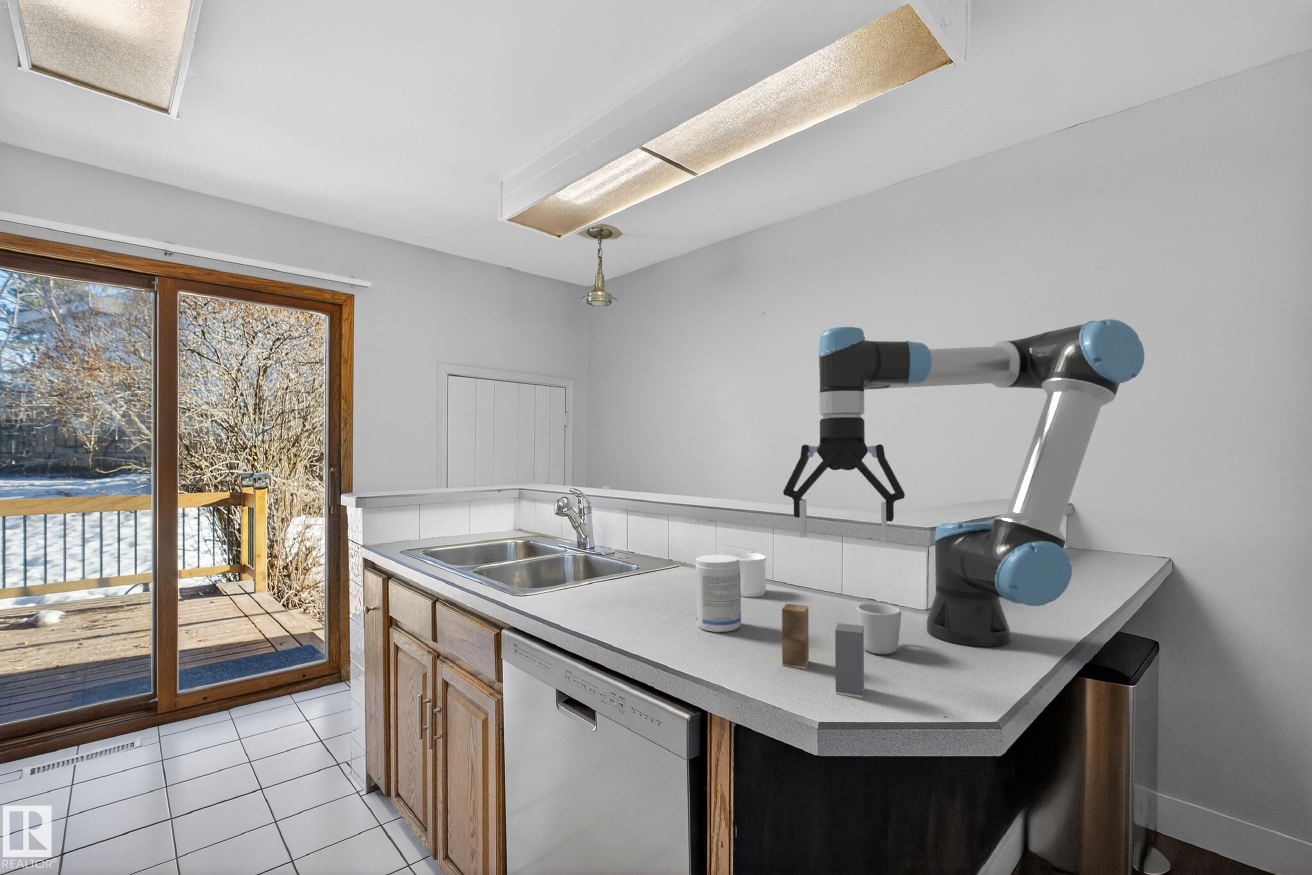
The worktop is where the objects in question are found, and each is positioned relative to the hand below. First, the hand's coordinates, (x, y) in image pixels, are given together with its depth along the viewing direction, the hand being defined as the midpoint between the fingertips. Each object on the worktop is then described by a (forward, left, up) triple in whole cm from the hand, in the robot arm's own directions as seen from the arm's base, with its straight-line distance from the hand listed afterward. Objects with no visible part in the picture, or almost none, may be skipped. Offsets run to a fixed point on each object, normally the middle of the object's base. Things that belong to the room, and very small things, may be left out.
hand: (842, 538), depth 107 cm
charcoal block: (-2, +10, -23) cm, 25 cm away
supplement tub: (+27, -15, -23) cm, 39 cm away
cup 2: (-6, -13, -23) cm, 27 cm away
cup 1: (+28, -46, -23) cm, 59 cm away
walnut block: (+8, +1, -23) cm, 24 cm away
